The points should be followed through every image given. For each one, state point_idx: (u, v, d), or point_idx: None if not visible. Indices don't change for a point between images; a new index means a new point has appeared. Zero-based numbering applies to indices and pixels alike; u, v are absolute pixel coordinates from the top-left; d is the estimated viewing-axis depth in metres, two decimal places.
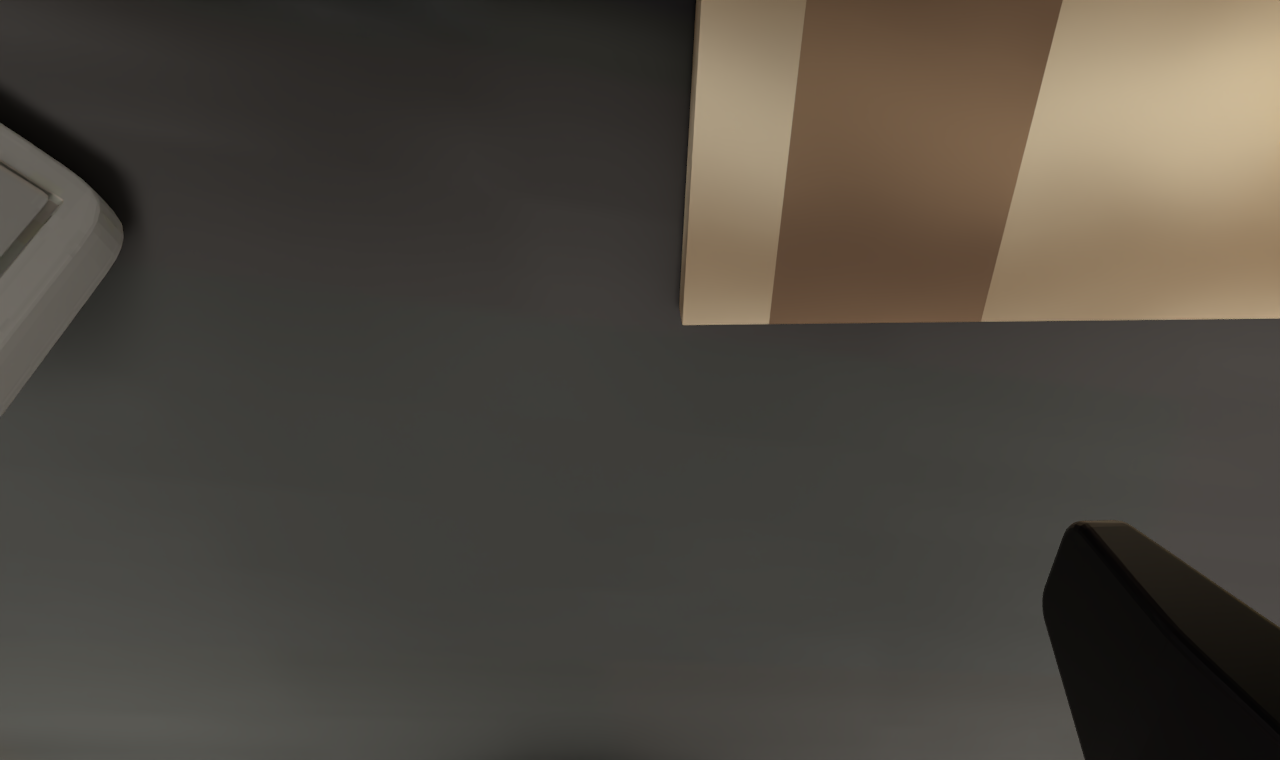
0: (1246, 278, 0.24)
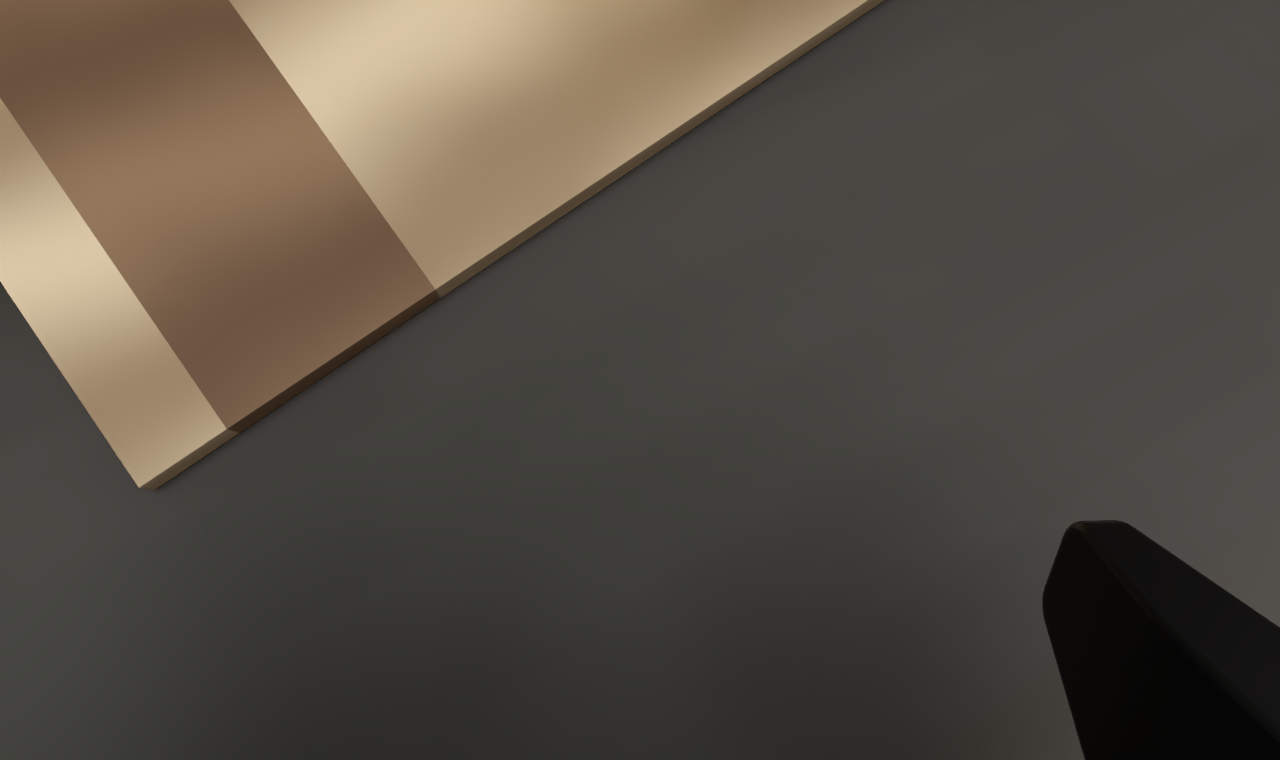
0: (640, 93, 0.22)
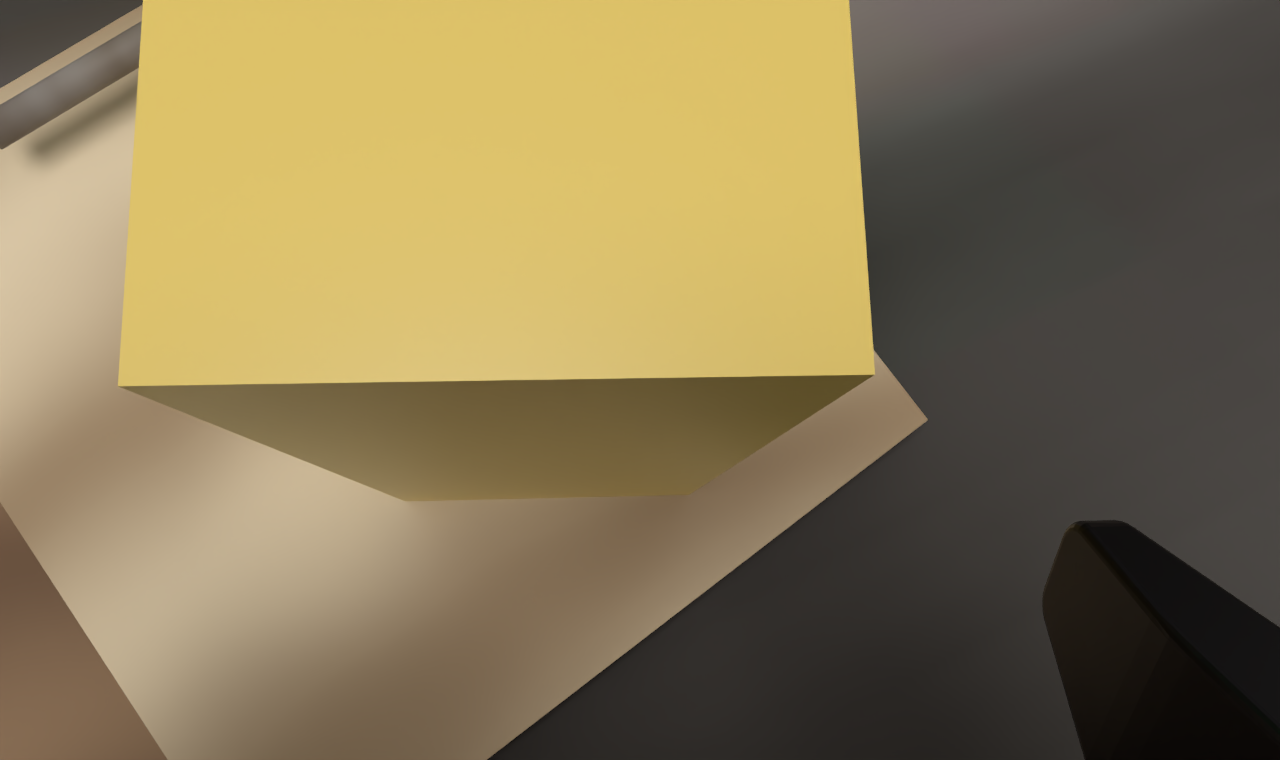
0: (540, 637, 0.18)
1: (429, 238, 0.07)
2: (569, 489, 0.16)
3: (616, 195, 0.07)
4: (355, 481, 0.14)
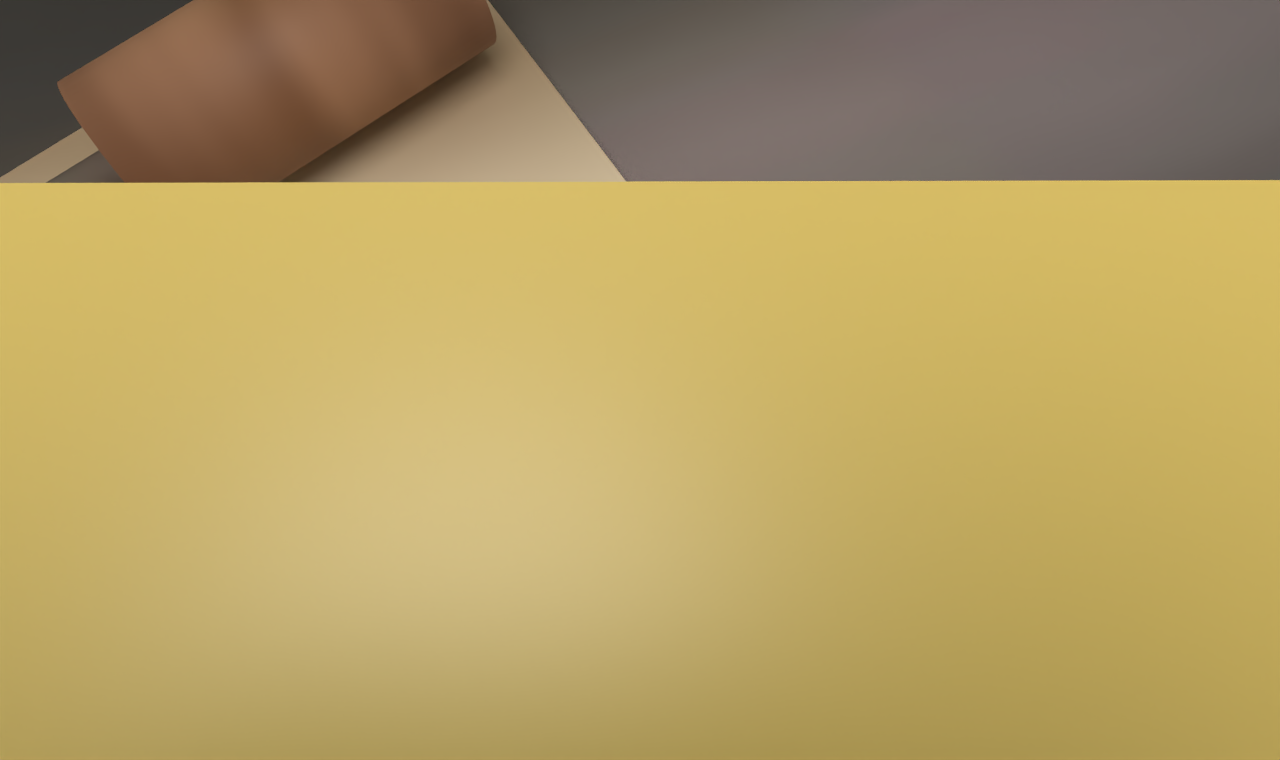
0: None
1: None
2: None
3: None
4: None
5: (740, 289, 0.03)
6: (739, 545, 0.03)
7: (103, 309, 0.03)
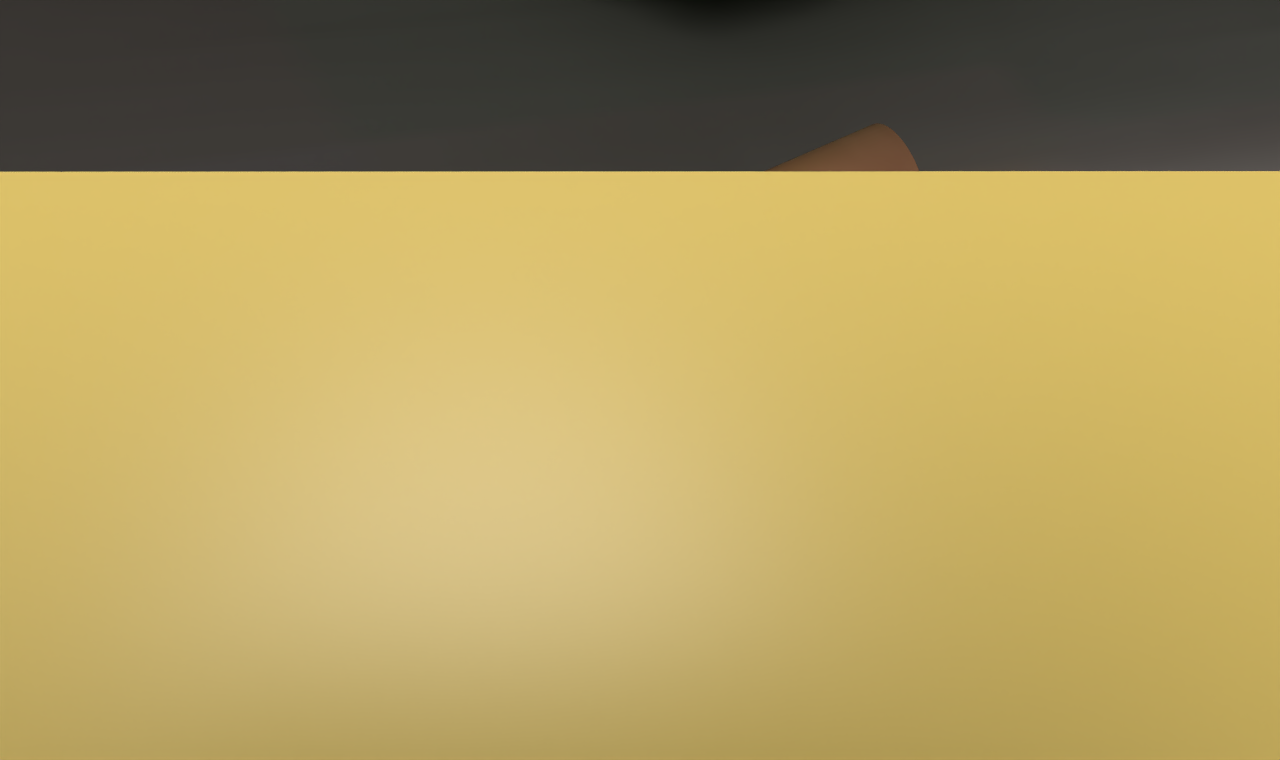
0: None
1: None
2: None
3: None
4: None
5: (751, 278, 0.03)
6: (754, 533, 0.03)
7: (118, 297, 0.03)
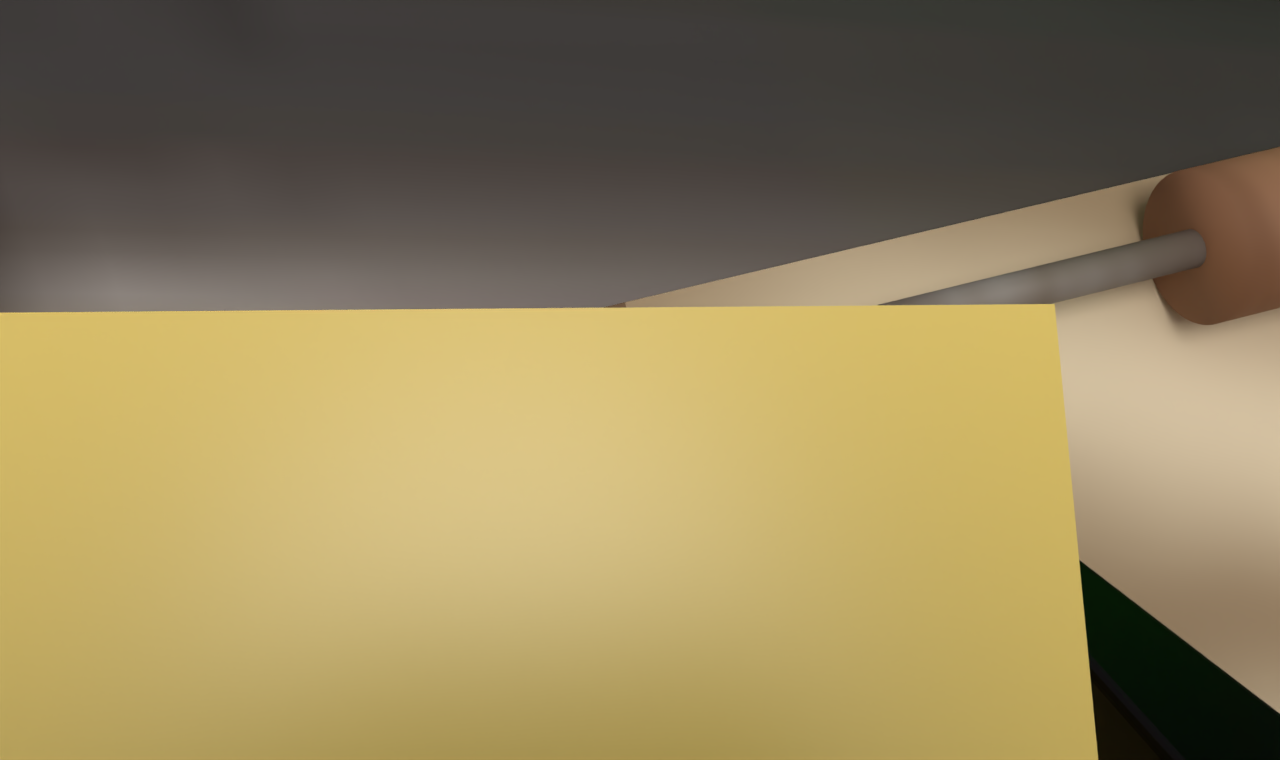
0: None
1: None
2: None
3: None
4: None
5: (688, 378, 0.04)
6: (687, 549, 0.04)
7: (273, 393, 0.04)
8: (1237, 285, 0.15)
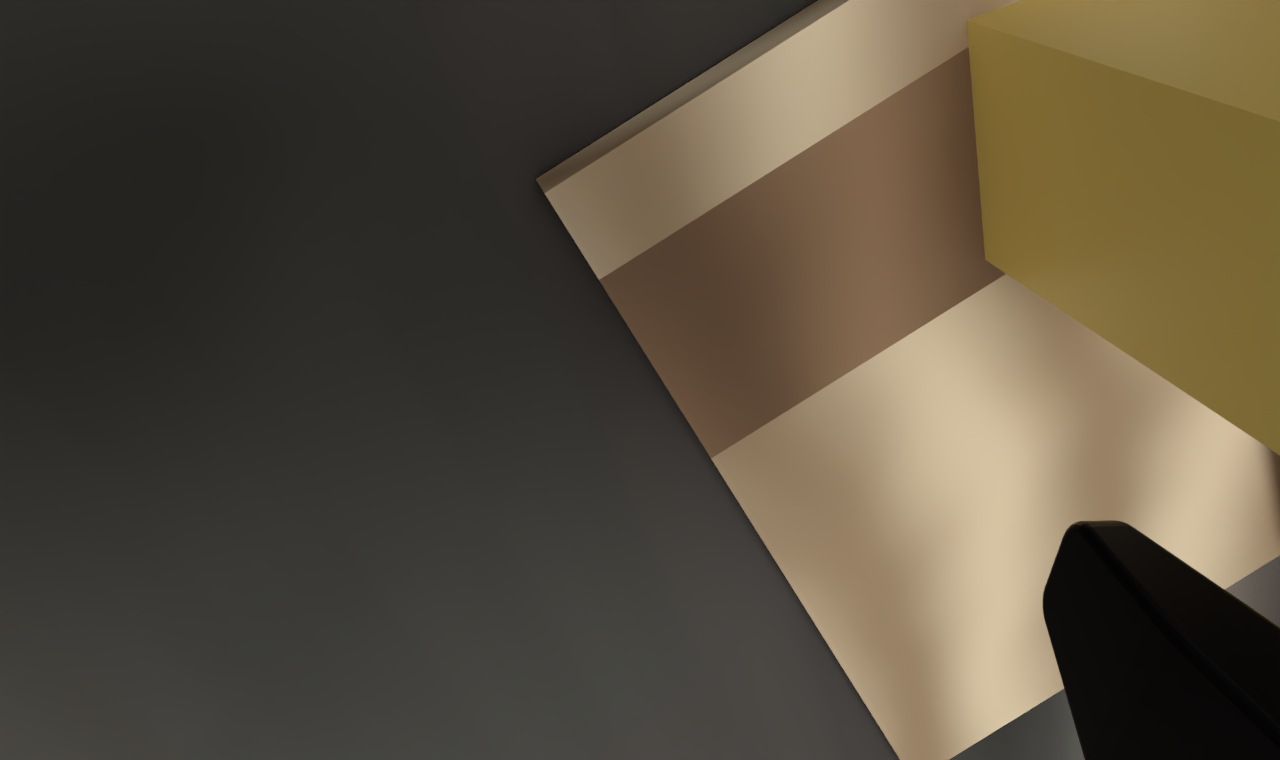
0: (852, 599, 0.25)
1: None
2: (1034, 196, 0.19)
3: None
4: (1122, 71, 0.15)
5: None
6: None
7: None
8: None
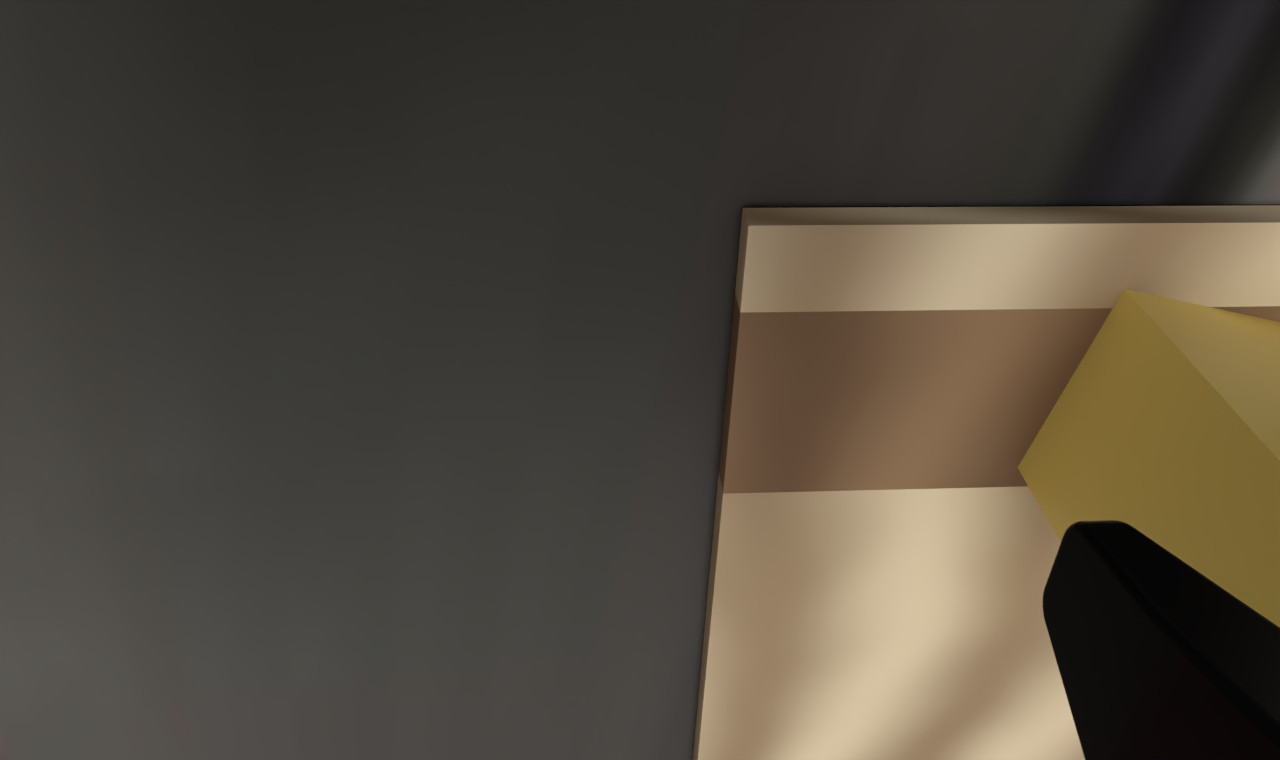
0: (746, 661, 0.28)
1: None
2: (1094, 447, 0.22)
3: None
4: (1230, 407, 0.18)
5: None
6: None
7: None
8: None
